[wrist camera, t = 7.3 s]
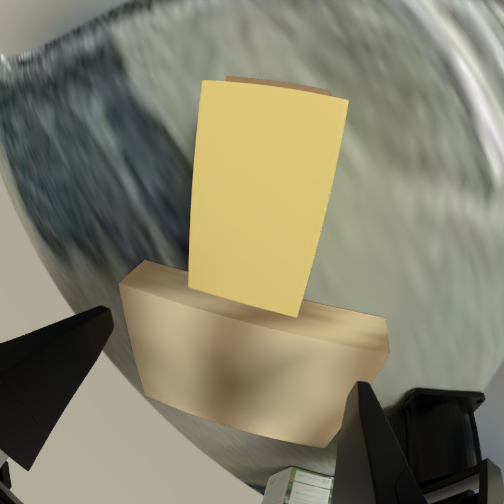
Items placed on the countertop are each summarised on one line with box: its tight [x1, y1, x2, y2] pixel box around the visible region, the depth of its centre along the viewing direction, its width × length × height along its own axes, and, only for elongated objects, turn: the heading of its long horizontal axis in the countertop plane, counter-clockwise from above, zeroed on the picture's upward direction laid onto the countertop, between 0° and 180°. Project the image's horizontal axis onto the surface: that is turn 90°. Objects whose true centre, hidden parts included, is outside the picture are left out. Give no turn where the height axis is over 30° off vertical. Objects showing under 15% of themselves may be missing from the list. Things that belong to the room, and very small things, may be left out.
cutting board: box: [119, 260, 390, 448], centre depth 16 cm, size 13×10×2 cm
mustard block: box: [188, 76, 349, 318], centre depth 10 cm, size 4×4×7 cm
